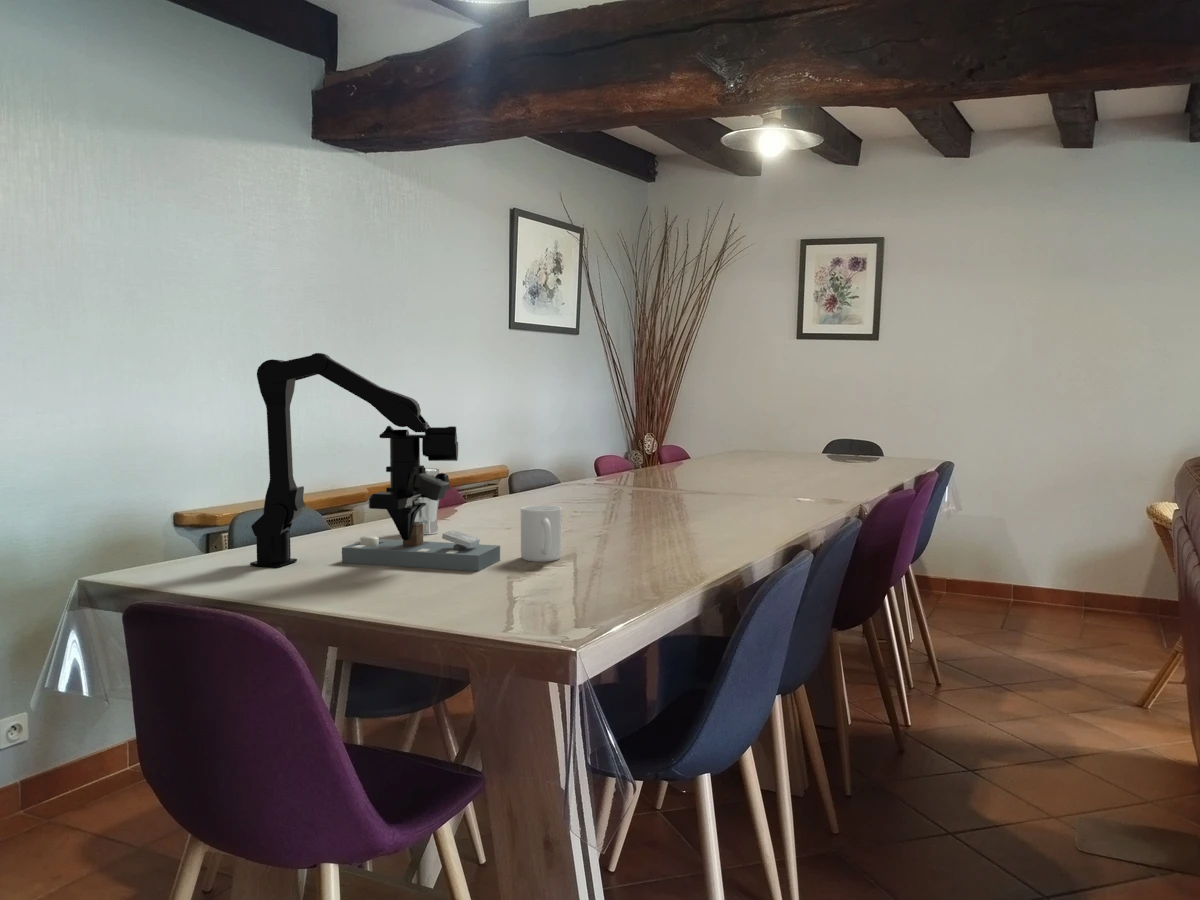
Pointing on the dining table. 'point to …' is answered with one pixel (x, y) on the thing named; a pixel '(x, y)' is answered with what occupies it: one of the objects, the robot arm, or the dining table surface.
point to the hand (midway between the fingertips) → (405, 539)
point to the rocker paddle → (460, 538)
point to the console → (423, 555)
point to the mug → (541, 533)
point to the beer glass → (428, 510)
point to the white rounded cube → (369, 540)
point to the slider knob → (415, 535)
